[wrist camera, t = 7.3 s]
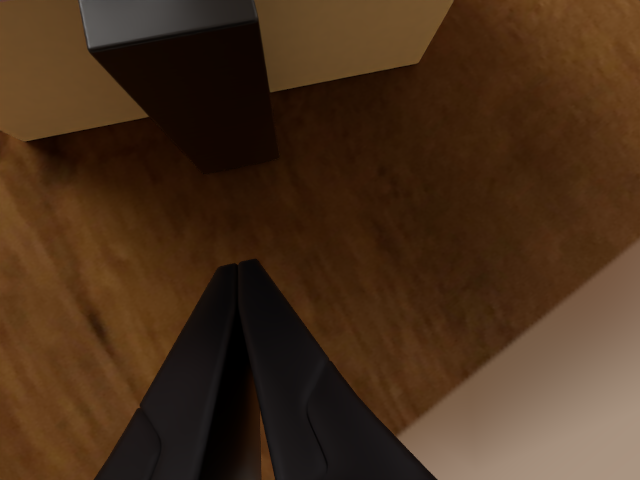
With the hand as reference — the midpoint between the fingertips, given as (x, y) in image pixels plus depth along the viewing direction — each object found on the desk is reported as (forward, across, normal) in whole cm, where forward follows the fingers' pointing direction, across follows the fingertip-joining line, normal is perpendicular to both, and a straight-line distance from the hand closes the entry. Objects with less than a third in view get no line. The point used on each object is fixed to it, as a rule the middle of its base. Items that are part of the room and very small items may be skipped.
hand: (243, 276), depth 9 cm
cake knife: (+11, 0, -2) cm, 11 cm away
